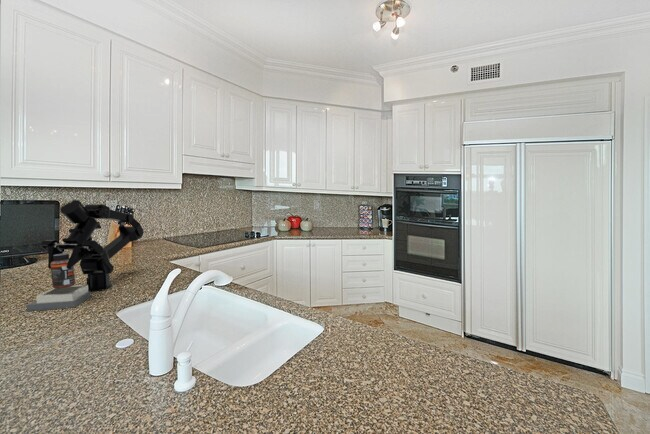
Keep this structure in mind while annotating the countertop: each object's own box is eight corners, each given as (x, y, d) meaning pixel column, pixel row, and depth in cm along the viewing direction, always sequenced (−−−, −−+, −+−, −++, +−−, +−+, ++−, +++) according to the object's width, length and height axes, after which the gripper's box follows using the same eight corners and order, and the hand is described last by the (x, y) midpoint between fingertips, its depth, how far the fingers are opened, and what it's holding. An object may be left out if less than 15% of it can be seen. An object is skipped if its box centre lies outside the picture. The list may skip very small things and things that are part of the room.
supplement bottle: (73, 287, 103) (69, 254, 102) (50, 290, 100) (46, 256, 99) (77, 282, 108) (73, 251, 107) (55, 285, 105) (51, 253, 104)
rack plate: (91, 296, 111) (90, 284, 111) (74, 307, 100) (73, 294, 100) (49, 299, 108) (48, 287, 108) (27, 311, 97) (25, 297, 97)
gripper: (119, 243, 118) (99, 279, 108) (72, 243, 118) (48, 279, 108) (102, 226, 109) (80, 263, 100) (52, 226, 110) (24, 263, 100)
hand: (58, 268), depth 102 cm, fingers closed on supplement bottle, 6 cm apart
